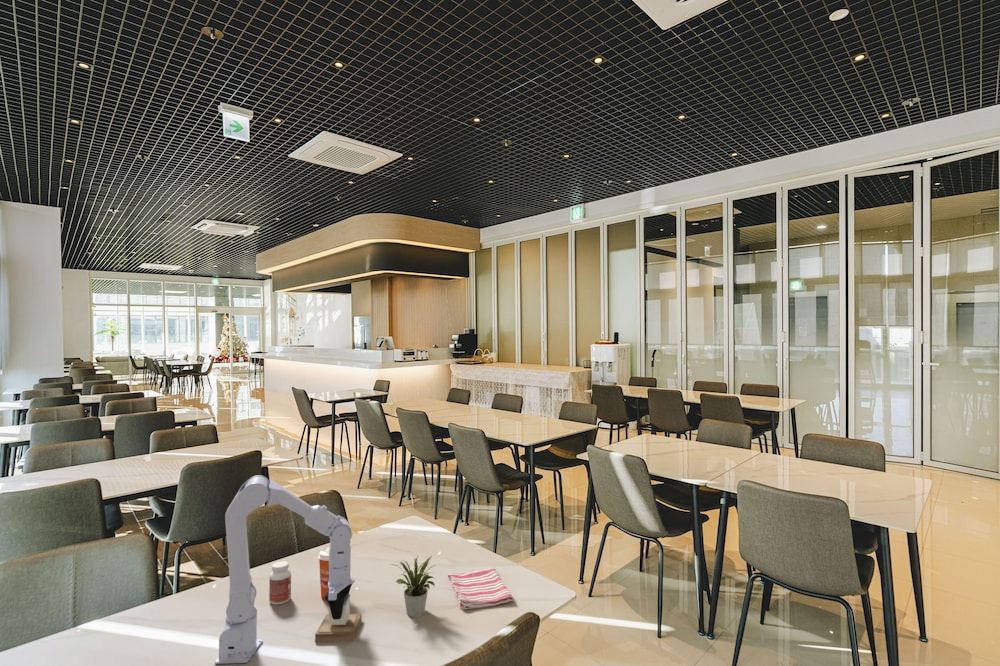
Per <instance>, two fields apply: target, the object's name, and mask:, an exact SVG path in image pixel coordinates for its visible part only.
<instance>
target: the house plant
mask: <svg viewBox="0 0 1000 666" xmlns="http://www.w3.org/2000/svg"><path fill="white" fill-rule="evenodd" d="M418 556H419V555H417V556H416V557H414V564H413V565H414V570H412V569H411V567H410V566H409V564H408V562H407V561H405V560H404V559H403V560H402V561H400V562H399V564H400V565H401V566H402V567H403V568H401V567H400V566H399V565H397V564H391V563H389V564H388V565H392V566H395V567H398V568H399V569H401V571H402V574H399V576H403V577H404V578H405V579H406V580H404V579H402V578H399V579H397V580H396V581H395V583H397V585H400V584H404V585H405V586H404V588H405V589H404V591H403V597H404V598H403V599H404V603H405V609H406V610H405V611H406V615H407V616H408V617H412V618H418V617H422V616H423V615H424V614H425V611H426V604H427V599H428V591H429V590H430V585H432V586H433V587H436V585H435V582H434V581H432V580H430V579H434V580H436V578H435V577H434V576H431V575H430V572H428V571H429V570H431V568H433V567H435V566H437V565H435V564H434V565H432V566H430V567H429V568H427V567H428V565H429V562H430V560H431V558H432V555H431V556H429V557H428V558H426V560H425V561H424V562H422V563H421V564H420V566H418V558H419V557H418ZM404 562H405V563H404ZM405 564H406V565H405ZM426 568H427V570H426ZM402 569H404V570H402ZM425 570H426V571H425ZM432 573H433V572H431V574H432ZM406 574H407V575H406ZM406 581H407V582H406Z"/></svg>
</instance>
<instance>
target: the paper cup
mask: <svg viewBox="0 0 1000 666" xmlns="http://www.w3.org/2000/svg"><path fill="white" fill-rule="evenodd" d="M329 548H330V547H327V548H324V549H322V550H320V552H319V553H318V556H317V558H318V559H319V560H318V561H319V579H320V580H319V581H320V584H319V585H320V597H321V599H322V600H323V601H326V599H325V595H326V593H327V592H329V587H328V581H329Z"/></svg>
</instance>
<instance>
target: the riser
mask: <svg viewBox="0 0 1000 666" xmlns="http://www.w3.org/2000/svg"><path fill="white" fill-rule="evenodd" d="M361 622H362V613H350V616H349V618H348V621H347V623H346V625H329V613H328V614H325V616H324V618H323V620H322V622H321V623H320V625H319V627H318V629H316V632H315V634H314V636H315V637H314V642H315V643H323V642H324V643H325V642H327V643H328V642H331V643H332V642H335V643H336V642H353V641H354V639H355V637H356V635H357V632H358V630H359V627H360V624H361Z"/></svg>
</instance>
